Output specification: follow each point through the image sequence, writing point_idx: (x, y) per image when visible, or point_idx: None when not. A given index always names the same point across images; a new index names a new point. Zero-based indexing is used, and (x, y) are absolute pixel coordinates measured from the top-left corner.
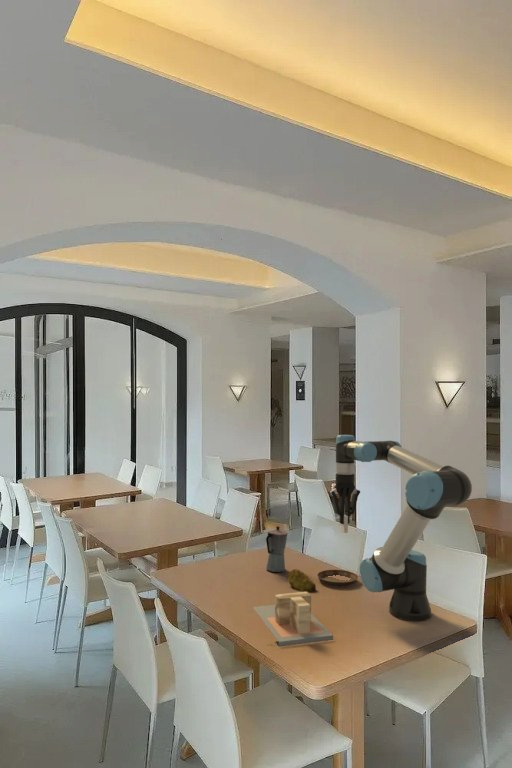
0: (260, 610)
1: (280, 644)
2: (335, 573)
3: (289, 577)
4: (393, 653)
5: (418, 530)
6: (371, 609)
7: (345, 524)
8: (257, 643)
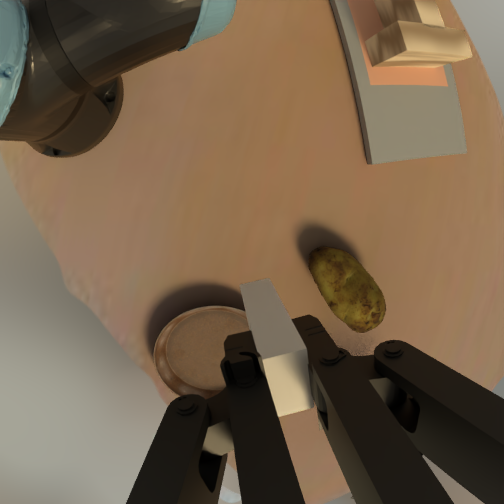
0: (456, 129)
1: None
2: (211, 395)
3: (383, 296)
4: None
5: None
6: (166, 125)
7: (272, 307)
8: (451, 13)
